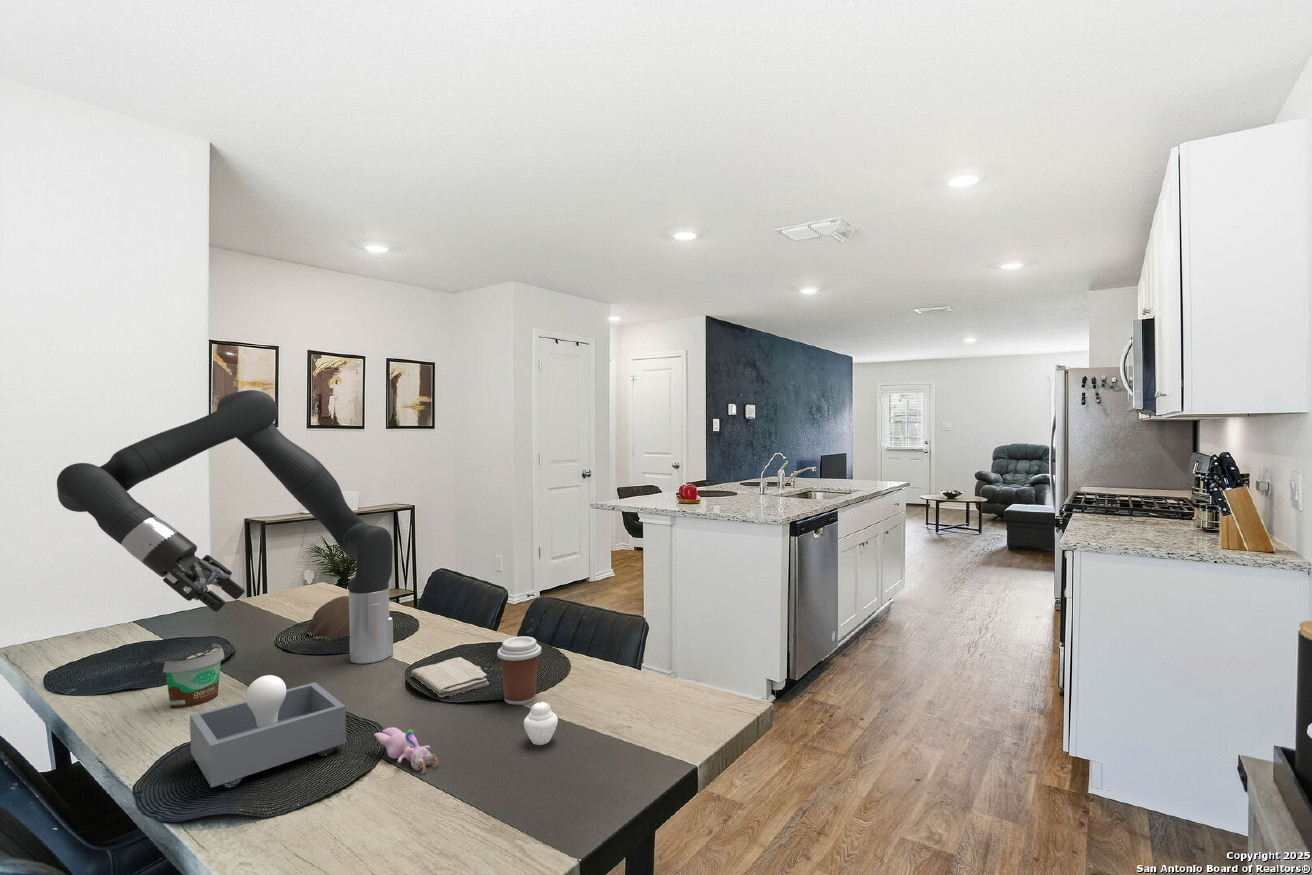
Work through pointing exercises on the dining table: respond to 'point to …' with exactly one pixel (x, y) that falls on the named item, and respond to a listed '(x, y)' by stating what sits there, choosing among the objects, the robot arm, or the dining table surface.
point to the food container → (194, 678)
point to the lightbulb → (266, 699)
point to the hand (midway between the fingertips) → (231, 601)
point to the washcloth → (451, 677)
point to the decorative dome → (331, 619)
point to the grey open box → (266, 734)
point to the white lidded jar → (540, 723)
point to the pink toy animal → (406, 748)
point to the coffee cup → (519, 669)
